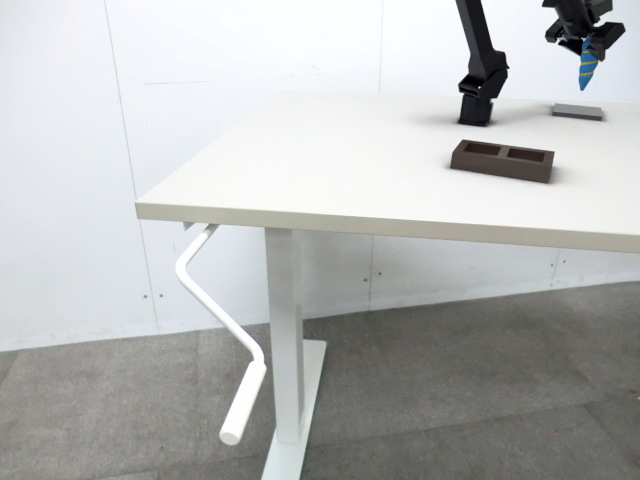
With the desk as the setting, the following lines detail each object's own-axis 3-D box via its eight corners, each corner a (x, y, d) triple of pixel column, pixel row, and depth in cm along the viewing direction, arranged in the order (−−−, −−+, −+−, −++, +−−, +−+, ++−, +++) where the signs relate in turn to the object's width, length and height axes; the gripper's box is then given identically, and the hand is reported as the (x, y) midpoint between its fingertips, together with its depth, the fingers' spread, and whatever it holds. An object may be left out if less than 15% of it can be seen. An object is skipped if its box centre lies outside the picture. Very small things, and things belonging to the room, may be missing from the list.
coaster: (552, 115, 121) (553, 111, 121) (554, 106, 130) (555, 103, 130) (601, 120, 117) (602, 116, 117) (600, 111, 126) (601, 107, 125)
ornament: (589, 89, 123) (607, 25, 116) (596, 93, 118) (615, 27, 111) (568, 88, 124) (584, 24, 116) (573, 92, 119) (591, 26, 112)
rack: (548, 183, 79) (552, 166, 78) (449, 168, 85) (452, 151, 84) (550, 167, 86) (554, 151, 85) (460, 154, 92) (462, 139, 91)
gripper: (633, -20, 101) (654, 37, 109) (566, -20, 116) (589, 30, 125) (593, 21, 102) (617, 74, 110) (532, 16, 117) (557, 63, 126)
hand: (594, 59), depth 118 cm, fingers closed on ornament, 5 cm apart
